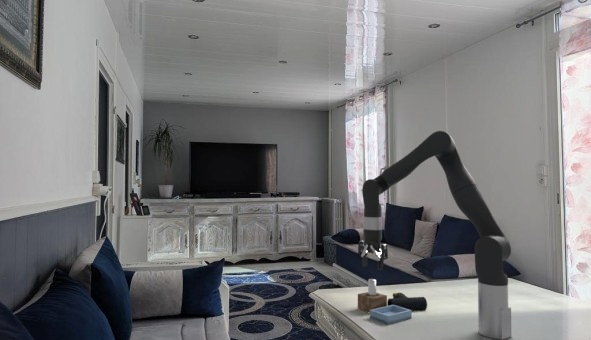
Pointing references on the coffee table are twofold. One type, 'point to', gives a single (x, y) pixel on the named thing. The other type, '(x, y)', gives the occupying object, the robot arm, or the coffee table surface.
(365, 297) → the pin block
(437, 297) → the coffee table surface
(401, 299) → the pipe connector
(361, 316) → the coffee table surface
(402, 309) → the tray
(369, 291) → the pin
